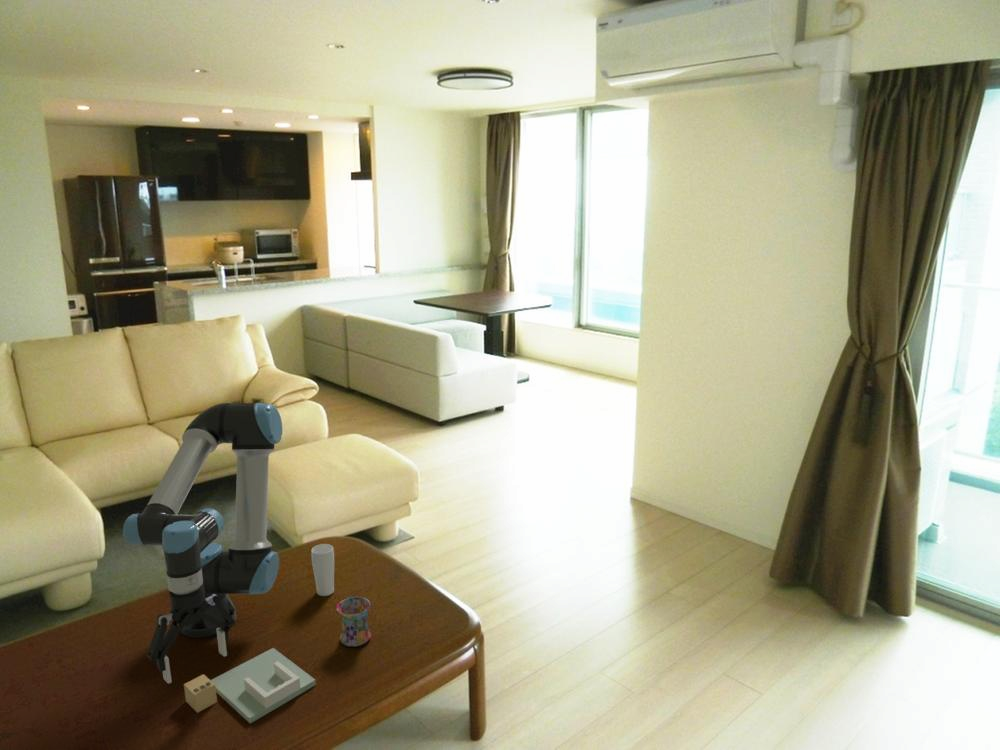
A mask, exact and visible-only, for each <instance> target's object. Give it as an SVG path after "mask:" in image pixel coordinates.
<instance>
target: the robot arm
mask: <svg viewBox="0 0 1000 750" xmlns="http://www.w3.org/2000/svg"><path fill="white" fill-rule="evenodd" d="M282 435H283V421H282V418H281V415H280V412H279V410H278V408H277V407H276V406H275V405H274V404H272V403H265V402H264V403H263V402H247V403H246V402H242V403H240V402H238V403H237V402H232V403H231V402H221V403H217V404H215V405H212V406H210V407H208V408H207V409H205V410H203V411H202V412H201V413H199V414H198V415H197V416H196V417H195V418H193V420H191V422H190V423H189V424H188V425H187V427H186V428H185V430H184V432H183V433H182V437H181V439H182V440H181V441H182V443H181V444H180V447H179V449H178V450H177V452H176V454H175V455H174V457H173V459H172V460H171V463H170V464H169V465H168V466H169V467H167V470H166V471H165V473H164V475H163V477H162V478H161V480H160V482H159V484H158V485H157V487H156V489H155V491H154V492H153V494H152V496H151V497H150V498H149V501H148V502H147V505H146V506H145V508H144V509H143V511H142V513H141V512H140V513H139V512H138V513H133V514H131V515H129V516H128V517H127V518H126V519H125V521H124V523H123V528H122V534H123V538H124V540H125V541H126V543H127V544H129V545H134V546H144V547H146V546H161V547H162V550H163V557H164V561H165V563H164V564H165V567H166V568H165V571H166V579H167V589H168V593H169V594H168V595H169V604H170V608H171V609H170V613H168V614H165V615H163V614H158V615H157V618H156V620H157V622H156V623H157V625H156V628H155V630H154V633H153V636H152V638H151V641H150V644H149V647H148V650H147V653H146V657H147V658H148V659H149V660H150V661H151V662H154V661H156V665H157V669H158V670H159V671H160V672H161V673H162V677H163V680H164V681H165V682H166V683H167V684H172V683H173V682H172V674H171V667H170V659H169V657H168V656H167V654H168V652H169V651H170V650H171V647H172V645H173V643H174V642H175V641H176V639H177V637H178V635H179V634H180V633H182V634H183V635H184V636H186V637H188V638H191V639H193V638H194V639H197V638H198V639H201V638H208V637H212V636H216V639H217V647H218V653H219V654H220V655H221V656H223V657H224V658H225V657H227V656H228V651H227V643H226V642H227V641H229V631H230V629H231V628H230V627H232V626H234V625H235V623H236V620H237V610H236V607H235V606H234V604H233V601H232V599H231V598H230V596H229V594H231V595H232V594H233V595H252V596H253V595H263V594H266V593H267V592H269V591H270V590H271V589H272V588H273V585H275V584H274V583H275V581H276V580H277V579H276V578H277V575H278V572H279V568H280V566H279V565H280V558H279V554H278V552H276V551H274V550H272V549H273V548H272V547H273V545H272V543H271V542H270V541H269V540H268V538H267V536H268V535H267V533H268V532H267V530H268V528H267V525H268V500H269V499H268V498H269V497H268V496H269V493H268V492H269V491H268V489H269V462H270V461H269V457H270V455H271V454H272V453H273V452H274V450H275V445H277V444H279V443H280V442H281V441H282ZM222 444H231V451H232V452H233V453H234V454H235V456H236V457H237V458H236V483H235V485H236V486H235V487H236V488H235V491H236V492H235V514H234V515H235V522H234V540H233V541H232V543H231V544H230V545H228V551H227V550H226V551H225V550H223V549H224V548H223V547H222V545H221V544H219V542H218V543H217V542H213V541H214V540H216V539H217V538H218V536H219V535H220V533H221V532H222V531H223V529H224V525H225V522H224V521H225V520H224V518H223V516H222V514H221V513H220V512H219V511H218V510H216V509H214V508H211V507H208V508H203V509H201V510H199V511H198V512H196V513H195V514H184V513H183V514H181V513H180V514H179V512H180V511H181V508H182V506H183V504H184V502H185V500H186V499H187V497H188V494H189V492H190V491H191V489H192V487H193V485H194V483H195V481H196V480H197V477H198V475H199V474H200V472H201V471H202V468H203V466H204V464H205V462H206V460H207V459H208V457H209V454H211V453H213V452H214V451H216V449H217V448H218V446H219V445H222ZM171 620H172V622H171V623H170V621H171ZM168 625H169V626H170V627H169V629H167V628H168ZM167 630H168V631H167Z"/></svg>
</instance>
